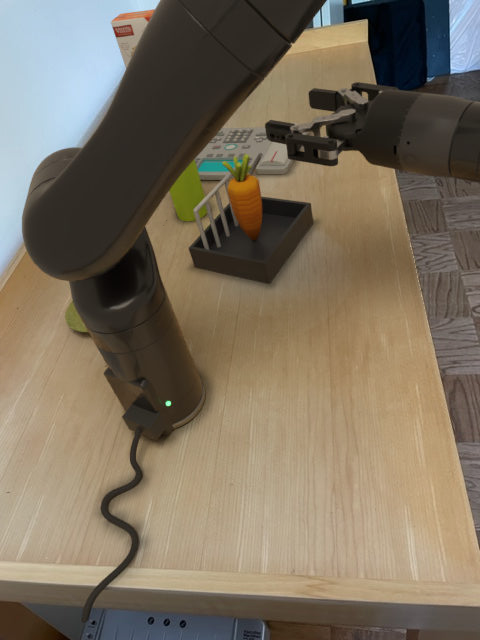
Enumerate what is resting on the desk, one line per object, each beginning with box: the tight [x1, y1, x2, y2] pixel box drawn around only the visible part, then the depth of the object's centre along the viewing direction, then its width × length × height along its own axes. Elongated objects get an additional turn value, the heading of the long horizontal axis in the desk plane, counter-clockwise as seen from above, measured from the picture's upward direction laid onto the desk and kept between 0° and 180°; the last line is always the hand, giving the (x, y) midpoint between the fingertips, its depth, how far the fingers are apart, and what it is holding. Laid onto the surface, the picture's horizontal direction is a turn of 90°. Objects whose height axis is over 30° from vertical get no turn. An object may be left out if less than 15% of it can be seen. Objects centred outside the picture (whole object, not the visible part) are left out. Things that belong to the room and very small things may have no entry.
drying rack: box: [188, 167, 314, 285], centre depth 85 cm, size 16×14×10 cm
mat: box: [64, 300, 89, 333], centre depth 83 cm, size 11×11×2 cm
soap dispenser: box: [168, 159, 208, 223], centre depth 92 cm, size 6×7×20 cm
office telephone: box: [195, 122, 311, 181], centre depth 111 cm, size 23×3×20 cm
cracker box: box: [110, 8, 156, 69], centre depth 136 cm, size 14×6×21 cm, turn 73°
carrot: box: [222, 154, 262, 241], centre depth 83 cm, size 5×5×15 cm
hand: (289, 113), depth 63 cm, fingers open, 8 cm apart
